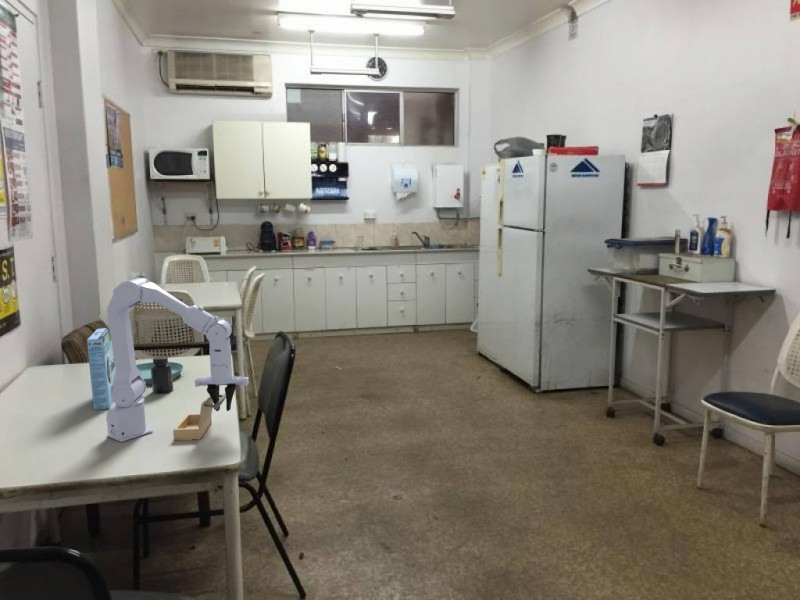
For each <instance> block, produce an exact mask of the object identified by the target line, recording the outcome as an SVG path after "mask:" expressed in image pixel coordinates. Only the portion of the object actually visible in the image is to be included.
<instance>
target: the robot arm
mask: <svg viewBox="0 0 800 600" xmlns="http://www.w3.org/2000/svg"><path fill="white" fill-rule="evenodd" d="M112 291H113V293H112V296H111V299H110V301H109V303H108V305H107V309H106V312H107V318H108V319H107V320H108V326H109V327H108V328H110V334H111V340H112V347H113V354H114V361H115V367H116V374H115V377H114V379H113V390H112V393H111V397H112V400H113V402H112V403H114V404H115V405H114V406H113V407H110V408H108V409H107V411H106V425H107V434H106V436H107V437H108V438H111V439H113V440H116V441H119V442H121V443H122V442H125V441H128V440H131V439H135V438H138V437H140V436H144V435H147V434H151V433H154V432H153V431H154V430H153V429H151V428H148V427H147V422H146V412H145V410H146V409H145V399H144V397H143V395H144V394H145V393H146V391H147V385H146V383H145V381H144V380H143V378H142V376H141V372H140V370H139V369H138V368H137V367H136V365H137V361H136V354H135V347H134V341H133V333H132V332H133V331H132V325H131V319H130V312H132V310H133V309H134V308H135V307H136V306H137V305H138V304H139V303H141V304H149V303H155V304H157V305H159V306H161V307H163V308H165V309H166V310H169V311H170V312H173V313H174V314H176V315H178V316H180V317H181V318H182V322H183V323H184V324H185V325H187V326H189V327H190V328H192V329H194V330H195V331H197V332H199V333H200V334H202V335H205V337H206V340H208V342H209V362H210V365H209V367H210V376H208V377H207V376H206V377H197V378H195V379H194V387H197V388H198V387H201V386H202V387H204V386H205V387H206V386H207V388H206V392H207V394H208V396H209V395H210V397H211V398H212V400H213V405H216V403H217V402H218V401H219V399H220V397H219V395H220V387H221V386H225V387H224V392H225V393H224V394H226V399H225V402H226V403H225V404H226V405H225V408H226V411H227V412H229V411H231V409H232V400H233V397H234V394H235V392H236V389H237V386H249V383H250V382H249V379H250V378H249V376H234V375H233V367H232V364H233V363H232V347H231V337H230V336H231V334H232V332H233V329H232V328H233V327H232V325H231V324H230V322H229V321H227V319H226V318H220V317H219V316H218V315H215V316H214V315H213V314H211V313H209V312H208V311H206V310H205V307H203V306H202V305H199V306H197V305H196V304H195V305H190V306H189V305H187V304H186V303H185V302H183V301H181V300H179V299H178V298H176V297H175V296H174V295H172V294H171V293H169V292H167V291H166V290H164V289H163V288H161V287H160V286H158V285H157V284H156V283H154V282H152V281H149V280H148V279H147V278H144V277H135V278H134V279H130V280H125V281H122V282H120V283H119V284H118V285H117V286H116V287H115V288H114V289H113V290H112ZM220 410H221V406H220V407H219V408H218V409H217V410H215V412H219V411H220Z"/></svg>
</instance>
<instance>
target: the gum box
mask: <svg viewBox="0 0 800 600" xmlns="http://www.w3.org/2000/svg"><path fill="white" fill-rule="evenodd" d="M86 345H87V355H88V363H89V365H88V366H89V374H90V375H89V376H90V384H91V386H90V387H91V393H92V404H93V405H92V406H93V410H94V411H97V410H106V409H107V410H109V409H111V406H112V405H113V403H114V402H113V400H112V397H111V393H112V390H113V379H114V377H115V374H116V367H115V361H114V354H113V347H112V340H111V334H110V327H102V328H97V329H95V331H94V332H93V333H92V334H91V335H89V337H88V339H86Z"/></svg>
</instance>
